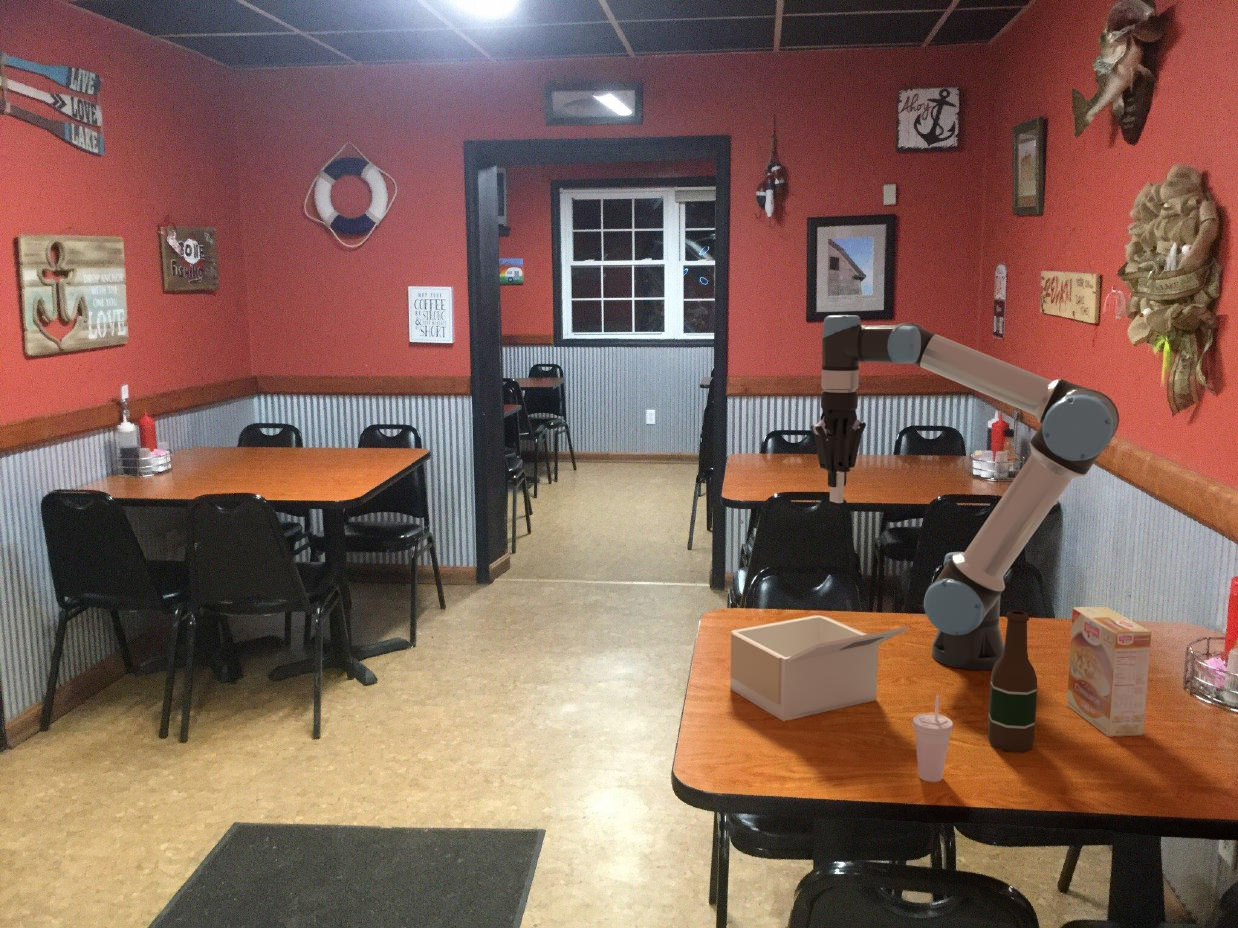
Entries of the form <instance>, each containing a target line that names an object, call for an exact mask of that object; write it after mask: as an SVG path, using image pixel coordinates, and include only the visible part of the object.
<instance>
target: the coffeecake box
mask: <svg viewBox="0 0 1238 928" xmlns="http://www.w3.org/2000/svg"><path fill="white" fill-rule="evenodd" d="M1071 619H1072V620H1071V633H1070V634H1071V635H1070V647H1069V662H1068V663H1069V664H1068V676H1067V677H1068V679H1067V683H1068V684H1067V692H1066V693H1067V696H1066V704H1065V705H1066V706H1067V707H1068V708H1070V709H1071V710H1073V711H1074V713H1076V714H1077V715H1079V716H1080V717H1082V718H1083V719H1084V720H1086V721H1087V722H1088V723H1089V724H1091V725H1092V726H1093V727H1094V728H1096V729H1098V731H1100V732H1102V733H1103V734H1104V735H1105V734H1106V735H1105V736H1106V737H1108V738H1109V737H1111V738H1113V736H1117V737H1126V736H1129V737H1131V736H1134V737H1135V736H1143V735H1144V731H1145V729H1144V728H1145V727H1144V726H1145V720H1146V719H1145V718H1146V717H1145V716H1146V707H1147V706H1146V704H1147V703H1146V702H1147V694H1148V693H1147V691H1148V678H1149V666H1150V664H1149V663H1150V653H1151V642H1152V641H1151V639H1152V631H1151V630H1149V629H1147V628H1145V627H1143V626H1141V625H1140V624H1138V623H1137V622H1134V621H1133V620H1131V619H1130V618H1127V617H1125V616H1124V615H1122V614H1120V613H1118V612H1117V611H1115V610H1113V609H1111V608H1109V607H1108V606H1095V607H1093V606H1077V607H1076V606H1075V607H1072V618H1071Z"/></svg>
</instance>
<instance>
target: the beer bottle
mask: <svg viewBox="0 0 1238 928" xmlns="http://www.w3.org/2000/svg"><path fill="white" fill-rule="evenodd" d="M1005 618H1006V619H1007V623H1006V632H1005V640H1004V650H1003V654H1002V656H1001V657H1000V658H999V659H998V660H997V662H996V663H995V665H994V667H993V669H991V674H990V675H991V676H990V683H989V684H990V686H989V687H990V688H989V700H988V701H989V703H988V718H987V719H988V722H987V724H988V726H987V738H988V741H989V743H990V746H991V747H993V748H996V749H997V750H1001V751H1003V752H1007V753H1008V752H1009V753H1022V754H1023V753H1025V752H1027V751H1030V750H1032V749H1033V747H1034V743H1035V734H1036V733H1035V732H1036V731H1035V730H1036V716H1037V715H1036V714H1037V700H1038V676H1037V674H1036V670H1035V669H1034V666H1033V665H1032V663H1031V661H1030V660H1029V655H1028V654H1029V653H1028V621H1030V618H1029V614H1028V613H1027V612H1026V611H1023V610H1017V609H1013V610H1009V611H1007V612H1006V614H1005Z"/></svg>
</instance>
